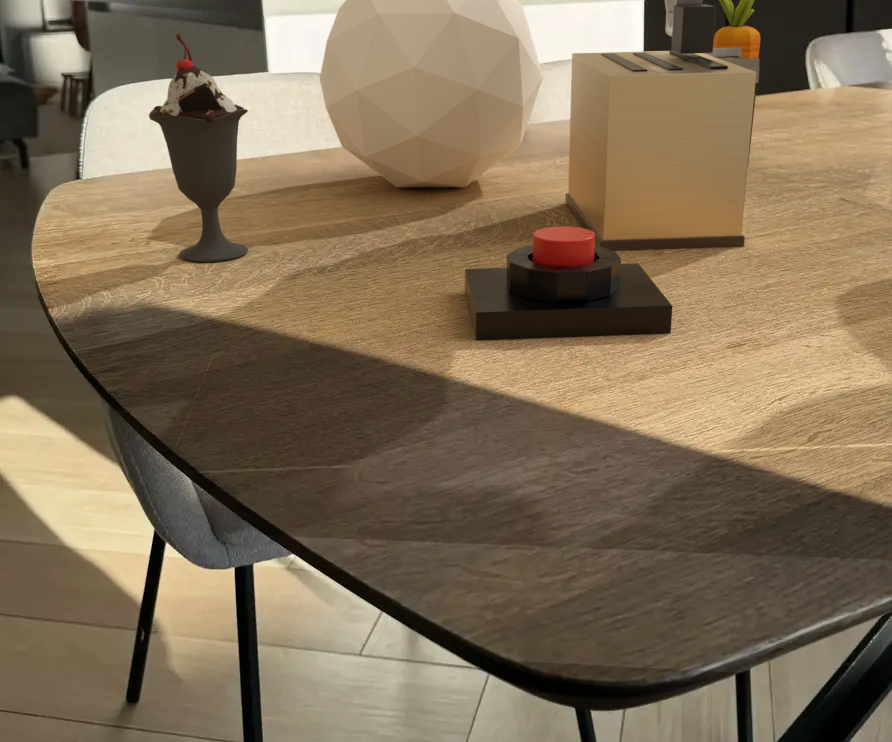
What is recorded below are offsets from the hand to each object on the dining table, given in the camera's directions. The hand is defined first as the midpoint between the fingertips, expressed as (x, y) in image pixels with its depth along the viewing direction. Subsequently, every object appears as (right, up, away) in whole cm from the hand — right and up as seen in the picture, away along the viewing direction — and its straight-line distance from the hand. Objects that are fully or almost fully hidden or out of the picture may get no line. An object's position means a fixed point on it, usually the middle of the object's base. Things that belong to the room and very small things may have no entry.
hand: (680, 37), depth 86 cm
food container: (+8, -3, +25) cm, 27 cm away
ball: (-19, -8, +17) cm, 27 cm away
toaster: (-2, -14, +1) cm, 14 cm away
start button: (-11, -21, -21) cm, 32 cm away
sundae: (-35, -18, -5) cm, 40 cm away
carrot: (+13, +3, +38) cm, 40 cm away
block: (-11, -24, -19) cm, 33 cm away
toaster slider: (0, -2, -3) cm, 3 cm away
